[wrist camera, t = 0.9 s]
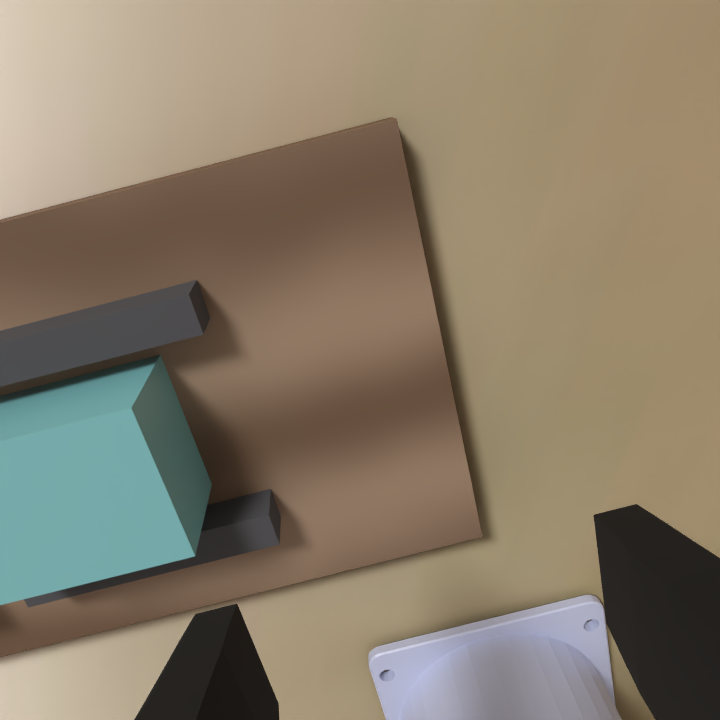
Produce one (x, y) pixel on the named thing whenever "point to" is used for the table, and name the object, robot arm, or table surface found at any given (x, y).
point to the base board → (268, 360)
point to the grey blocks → (120, 337)
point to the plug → (96, 480)
